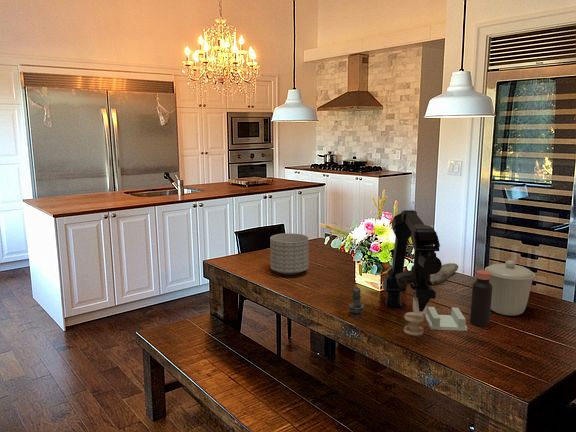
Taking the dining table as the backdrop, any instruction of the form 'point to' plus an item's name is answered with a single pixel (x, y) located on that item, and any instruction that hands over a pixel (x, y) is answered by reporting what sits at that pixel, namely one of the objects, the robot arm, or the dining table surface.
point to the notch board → (446, 320)
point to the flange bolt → (356, 303)
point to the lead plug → (416, 307)
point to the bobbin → (413, 324)
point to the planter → (289, 253)
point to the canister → (509, 287)
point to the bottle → (481, 299)
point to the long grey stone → (443, 273)
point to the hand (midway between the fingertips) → (419, 308)
